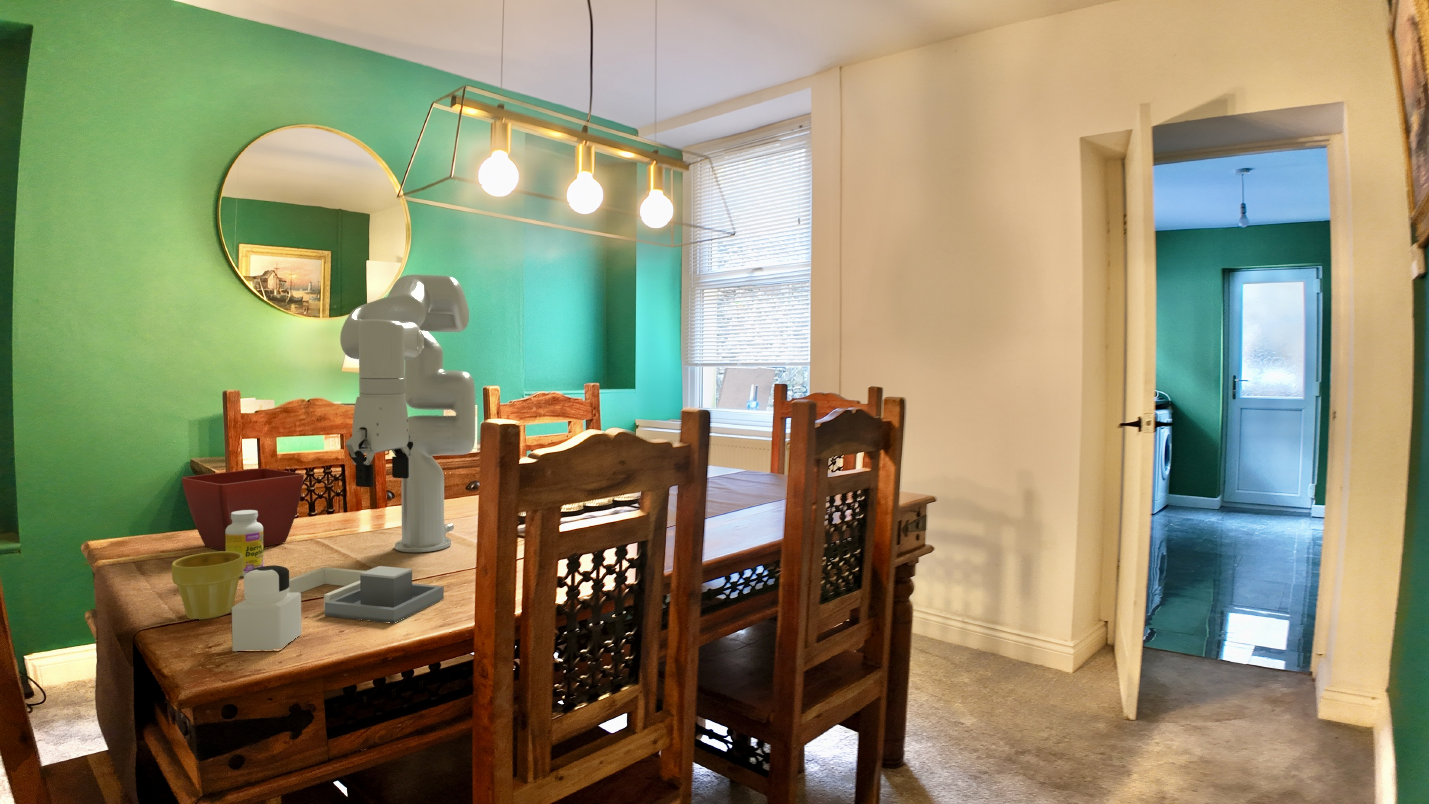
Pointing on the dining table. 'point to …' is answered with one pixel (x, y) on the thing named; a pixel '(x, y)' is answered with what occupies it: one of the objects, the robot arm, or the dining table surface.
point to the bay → (327, 581)
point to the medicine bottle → (266, 611)
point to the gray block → (385, 586)
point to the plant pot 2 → (208, 582)
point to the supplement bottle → (246, 538)
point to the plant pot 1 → (243, 502)
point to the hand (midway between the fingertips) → (383, 482)
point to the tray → (354, 609)
